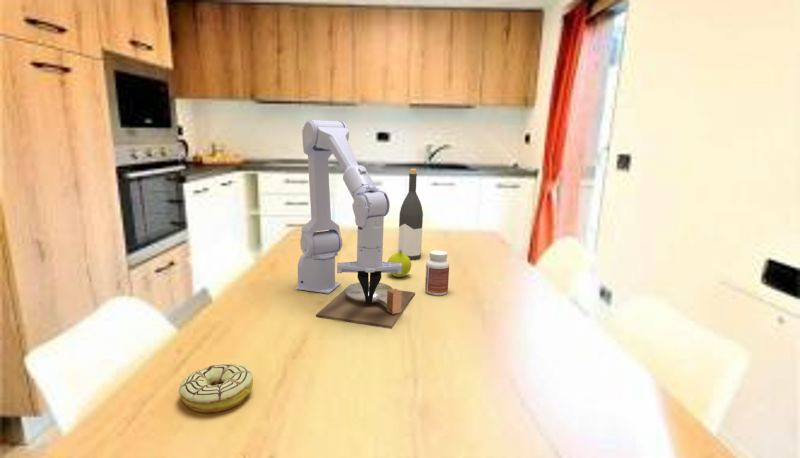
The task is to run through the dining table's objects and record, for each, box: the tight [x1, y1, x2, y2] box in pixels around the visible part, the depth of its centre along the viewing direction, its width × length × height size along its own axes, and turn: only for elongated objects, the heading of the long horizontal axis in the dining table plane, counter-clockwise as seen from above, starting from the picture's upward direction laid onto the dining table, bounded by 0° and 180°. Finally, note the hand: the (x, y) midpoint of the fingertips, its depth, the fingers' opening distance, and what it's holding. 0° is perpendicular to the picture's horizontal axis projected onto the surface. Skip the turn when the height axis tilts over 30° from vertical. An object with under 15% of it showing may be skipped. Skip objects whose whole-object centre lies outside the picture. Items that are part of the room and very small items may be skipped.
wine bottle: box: [397, 168, 424, 261], centre depth 150 cm, size 8×8×30 cm
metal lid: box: [344, 281, 402, 314], centre depth 110 cm, size 18×12×5 cm, turn 35°
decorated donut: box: [178, 363, 254, 414], centre depth 71 cm, size 10×11×4 cm
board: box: [315, 288, 416, 329], centre depth 110 cm, size 18×22×2 cm
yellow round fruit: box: [387, 248, 412, 278], centre depth 132 cm, size 7×7×10 cm
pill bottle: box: [424, 249, 450, 296], centre depth 120 cm, size 6×6×11 cm
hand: (368, 302), depth 103 cm, fingers closed
